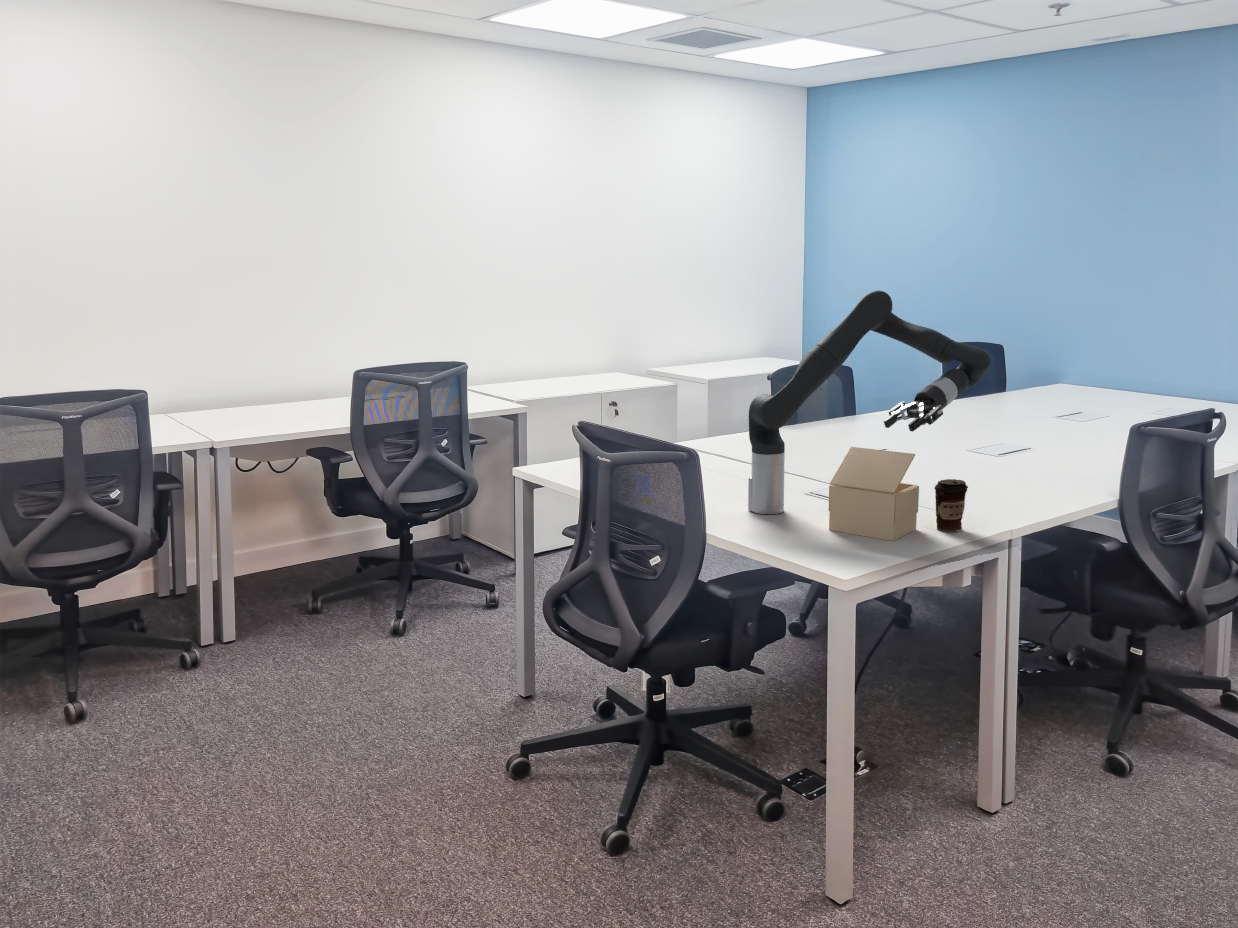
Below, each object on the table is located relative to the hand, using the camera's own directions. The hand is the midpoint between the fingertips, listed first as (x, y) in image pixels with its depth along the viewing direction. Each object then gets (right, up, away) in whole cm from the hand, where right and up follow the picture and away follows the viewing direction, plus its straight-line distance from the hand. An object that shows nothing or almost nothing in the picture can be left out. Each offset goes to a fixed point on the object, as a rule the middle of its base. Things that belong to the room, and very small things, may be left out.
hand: (897, 426), depth 266 cm
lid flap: (-8, -11, -4) cm, 14 cm away
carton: (-7, -27, 0) cm, 28 cm away
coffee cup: (+13, -27, -1) cm, 30 cm away
